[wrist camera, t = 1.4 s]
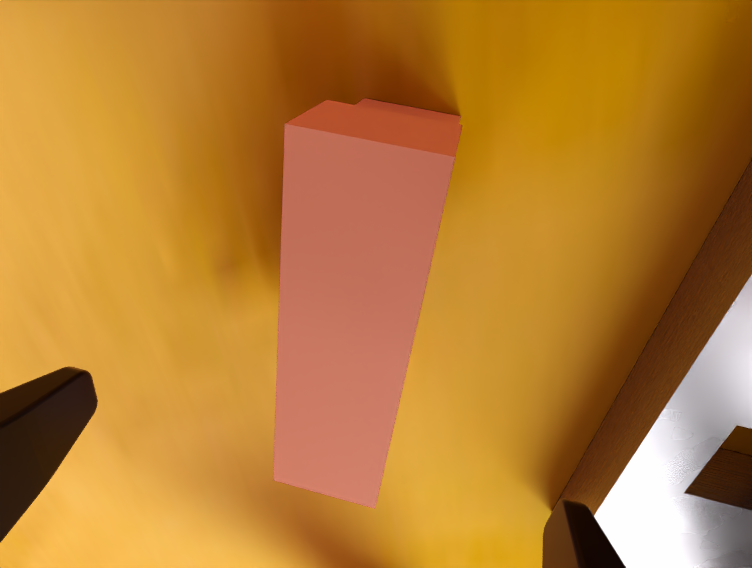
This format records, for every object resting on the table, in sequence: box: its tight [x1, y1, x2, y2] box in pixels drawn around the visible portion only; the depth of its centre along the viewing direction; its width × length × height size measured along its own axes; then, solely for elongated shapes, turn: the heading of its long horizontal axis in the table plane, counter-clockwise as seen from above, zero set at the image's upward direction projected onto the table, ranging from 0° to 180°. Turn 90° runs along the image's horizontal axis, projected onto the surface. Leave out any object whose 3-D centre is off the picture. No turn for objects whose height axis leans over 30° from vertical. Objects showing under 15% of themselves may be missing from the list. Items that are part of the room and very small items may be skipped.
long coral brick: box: [273, 98, 462, 509], centre depth 13 cm, size 10×3×6 cm, turn 173°
